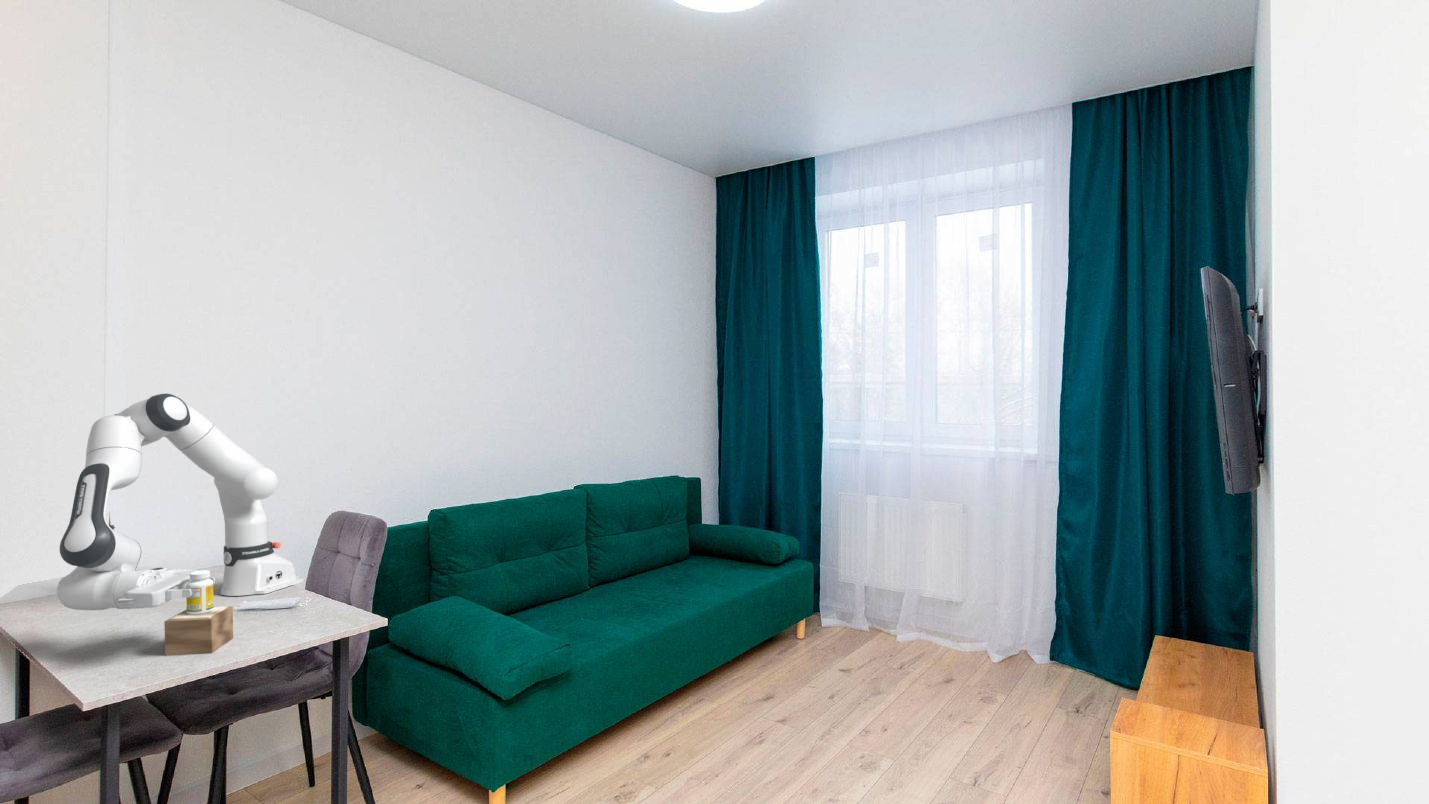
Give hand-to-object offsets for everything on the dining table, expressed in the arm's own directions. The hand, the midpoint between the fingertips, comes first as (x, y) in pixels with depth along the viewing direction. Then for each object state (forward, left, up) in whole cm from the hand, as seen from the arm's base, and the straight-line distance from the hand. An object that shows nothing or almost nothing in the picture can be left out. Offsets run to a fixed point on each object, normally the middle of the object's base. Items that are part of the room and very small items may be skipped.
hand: (203, 586), depth 177 cm
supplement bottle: (0, -1, -6) cm, 6 cm away
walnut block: (+1, -1, -14) cm, 15 cm away
